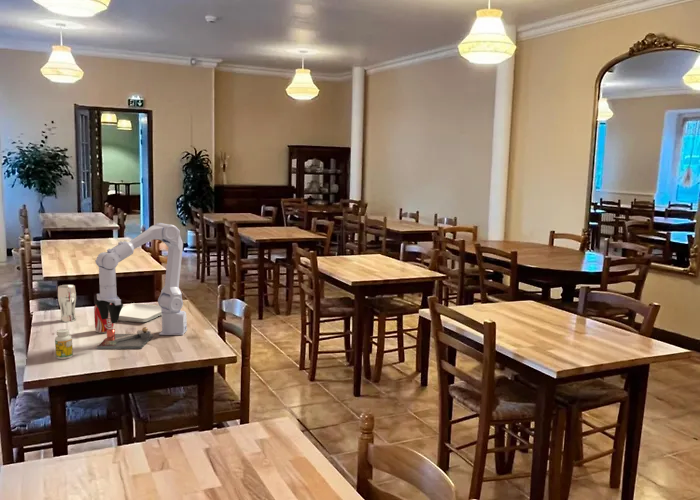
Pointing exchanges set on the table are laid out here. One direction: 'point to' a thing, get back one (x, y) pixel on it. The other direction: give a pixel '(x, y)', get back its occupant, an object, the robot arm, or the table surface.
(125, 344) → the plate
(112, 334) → the lever
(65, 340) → the supplement bottle
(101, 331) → the soda can
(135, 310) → the salad plate
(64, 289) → the beer glass
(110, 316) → the robot arm
